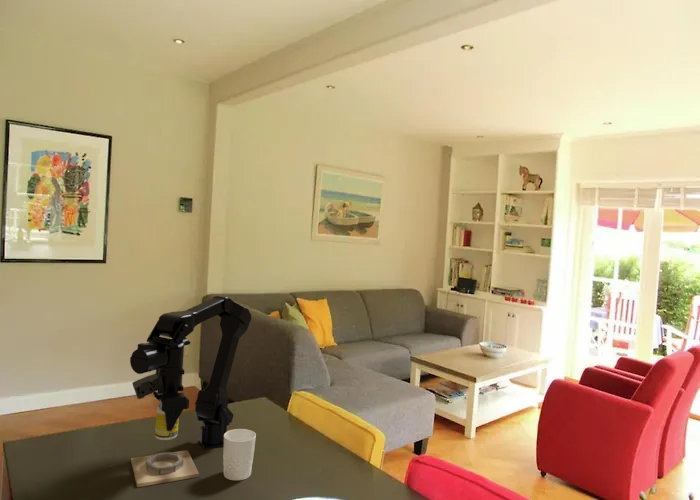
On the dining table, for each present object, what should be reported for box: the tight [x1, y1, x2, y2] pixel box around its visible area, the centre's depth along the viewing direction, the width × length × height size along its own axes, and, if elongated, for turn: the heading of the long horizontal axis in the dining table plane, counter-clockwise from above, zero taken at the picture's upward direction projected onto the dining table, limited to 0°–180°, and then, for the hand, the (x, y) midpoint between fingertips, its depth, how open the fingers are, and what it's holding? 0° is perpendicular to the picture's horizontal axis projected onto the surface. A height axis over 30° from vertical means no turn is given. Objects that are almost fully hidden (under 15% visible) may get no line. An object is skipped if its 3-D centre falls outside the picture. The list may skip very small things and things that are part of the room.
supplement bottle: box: [154, 406, 180, 441], centre depth 123 cm, size 5×5×10 cm
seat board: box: [130, 449, 200, 488], centre depth 124 cm, size 14×14×2 cm
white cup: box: [222, 428, 257, 481], centre depth 124 cm, size 8×8×10 cm
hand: (167, 426), depth 124 cm, fingers closed on supplement bottle, 5 cm apart
